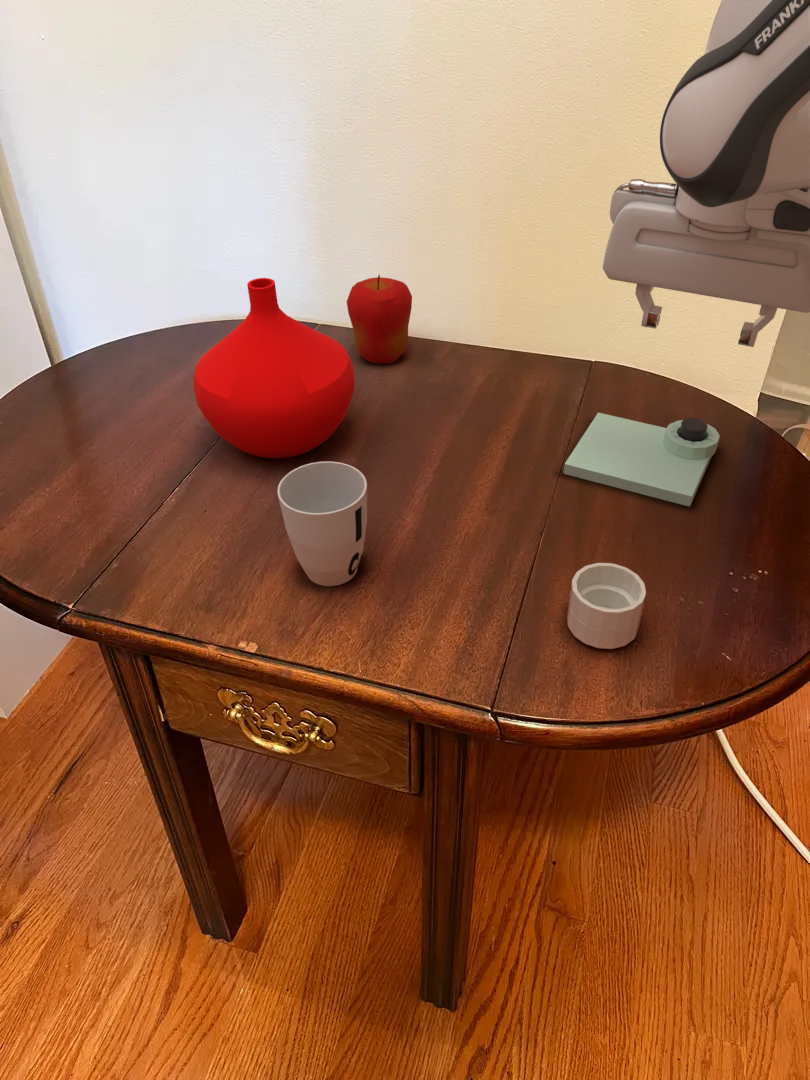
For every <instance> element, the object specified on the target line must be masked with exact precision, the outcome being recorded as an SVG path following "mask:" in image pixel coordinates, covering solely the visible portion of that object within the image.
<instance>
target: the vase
mask: <svg viewBox="0 0 810 1080" xmlns="http://www.w3.org/2000/svg"><path fill="white" fill-rule="evenodd" d="M246 286H247V293H248V298H249V312H248V314H247V316H246V317H245V318H244V320H243V321H242V322H241V323H240V324H238V325H237V326H236V327H235V328H234V329H232V331H231V332H230V333H228V334H227V335H225V337H224V338H222V339H221V340H220V341H219V342H216V343H215V345H214V346H212V347H211V348H210V349H208V350H207V351H206V352H205V353H204V354H203V355H202V356H201V357H200V359H199V360H198V362H197V364H196V366H195V368H194V369H195V370H194V375H193V392H194V396H195V397H194V398H195V401H196V405H197V407H198V408H199V411H200V412H201V413H202V416H203V417H204V418H205V419H206V421H207V422H208V423H209V425H210V427H212V428H213V430H214V431H215V433H216V434H217V435H218V436H220V437H221V438H222V439H224V441H226V442H228V443H229V444H230V445H232V446H233V447H235V448H236V449H238V450H239V451H242V452H244V453H247V454H249V455H252V456H256V457H259V458H260V457H261V458H265V459H287V458H288V459H289V458H293V457H297V456H300V455H304V454H306V453H307V452H310V451H312V450H314V449H316V448H317V447H319V446H321V444H323V443H324V442H325V441H327V440H328V439H329V438H330V437H331V436H332V435H333V434H334V432H335V431H336V430H337V429H338V427H339V426H340V425H341V423H342V422H343V421H344V419H345V418H346V415H347V413H348V410H349V407H350V404H351V401H352V399H353V396H354V392H355V387H356V385H355V384H356V382H355V381H356V380H355V368H354V365H353V362H352V359H351V357H350V355H349V353H348V351H347V349H346V348H345V347H344V346H343V345H342V344H341V343H340V342H339V341H338V340H335V339H334V338H332V337H331V336H328V335H326V334H324V333H323V332H320V331H319V330H316V329H314V328H311V327H309V326H308V325H306V324H303V323H302V322H300V321H298V320H296V319H294V318H293V317H291V316H289V315H288V314H286V312H284V311H283V310H282V309H281V308H280V306H279V302H278V297H277V296H278V294H277V288H276V281H275V280H274V279H273V278H269V277H259V278H258V277H257V278H253V279H251V280H249V281H248V282H247V283H246Z"/></svg>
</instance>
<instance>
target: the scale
mask: <svg viewBox="0 0 810 1080" xmlns="http://www.w3.org/2000/svg"><path fill="white" fill-rule="evenodd" d="M683 420H684V419H680V420H676V421H674V422H673V421H672V422H671V423H668V425H667V427H663V426H659V425H654V424H650V423H646V422H641V421H637V420H633V419H632V420H631V419H628V418H624V417H620V416H617V415H611V414H606V413H602V412H597V414H596V415H595V417H594V418H593V420H592V421H591V423H590V424H589V426H588V427H587V428H586V430H585V432H584V433H583V435H582V436H581V437H580V439H579V441H577V444H576V446H575V447H574V449H573V450H572V452H571V453H570V455H569V456H568V458H567V459H566V461H565V462H564V463H563V464H564V465H563V474H564V475H566V476H570V477H575V478H578V479H582V480H586V481H589V482H593V483H597V484H600V485H605V486H609V487H613V488H617V489H620V490H623V491H627V492H632V493H635V494H638V495H643V496H647V497H650V498H654V499H658V500H662V501H666V502H670V503H673V504H677V505H681V506H685V507H689V508H690V507H691V506H692V503H693V500H694V499H695V496H696V494H697V491H698V489H699V486H700V485H701V482H702V480H703V477H704V475H705V473H706V470H707V468H708V467H709V464H710V462H711V459H712V456H714V455H715V453H716V451H717V449H718V446H719V441H720V438H721V435H720V433H719V432H718V431H717V428H715V427H713V426H712V425H710V424H708V423H707V426H708V427H707V431H706V435H705V439H704V440H703V441H700V442H691V441H687V440H684V439H682V438H681V437H680V436H679V432H680V427H681V423H682V421H683Z"/></svg>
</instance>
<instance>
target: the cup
mask: <svg viewBox="0 0 810 1080" xmlns="http://www.w3.org/2000/svg"><path fill="white" fill-rule="evenodd" d="M276 491H277V496H278V497H277V498H278V501H279V506H280V510H281V514H282V519H283V522H284V527H285V531H286V533H287V536H288V539H289V542H290V544H291V547H292V549H293V552H294V554H295V557H296V559H297V561H298V563H299V564H300V566H301V568H302V569H303V571H304V572H305V574H306V576H307V577H308V579H309V580H310V581H311V582H313V583H314V584H316V585H319V586H323V587H335V586H340V585H344V584H346V583H348V582H349V581H350V580H352V579H353V578H355V575H356V574H357V571H358V569H359V566H360V562H361V560H362V559H361V558H362V556H363V553H364V548H365V540H366V532H367V526H368V525H367V524H368V482H367V478H366V477H365V475H364V473H363V472H362V471H361V470H359V469H358V468H357V467H354V466H352V465H349V464H347V463H344V462H339V461H316V462H311V463H307V464H303V465H301V466H298V467H297V468H294V469H292V470H290V472H288V473H287V474H286V475H284V476H283V477H282V479H281V480H280V481H279V483H278V486H277V490H276Z"/></svg>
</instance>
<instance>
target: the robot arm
mask: <svg viewBox="0 0 810 1080" xmlns="http://www.w3.org/2000/svg"><path fill="white" fill-rule="evenodd" d="M659 149H660V155H661V158H662V162H663V164H664V166H665V168H666V170H667V173H668V174H669V175H670V177H671V178H672V180H673V181H674V182H675V183H674V182H673V183H672V182H663V181H659V182H658V181H646V180H645V179H640V178H634V179H633V178H632V179H630V181H629V182H625V183H623V184H620V185H619V186H618V187H617V188H616V189H615V190H614V191H613V193H612V196H611V201H610V208H609V217H610V220H611V223H612V224H613V225H612V226H611V230H610V233H609V237H608V240H607V244H606V248H605V251H604V256H603V261H602V270H603V271H604V273H605V275H606V277H607V278H608V279H609V280H612V281H618V282H623V283H628V284H633V285H635V284H636V286H635V292H634V294H635V296H636V299H637V301H638V304H639V306H640V308H641V311H642V319H641V324H640V325H641V327H644V328H649V329H657V327H658V326H659V324H660V322H661V315H662V311H663V306H660V305H655V302H654V300H653V299H654V298H653V297H652V291H653V289H655V288H659V289H663V290H664V289H665V290H670V291H675V292H680V293H681V292H683V293H688V294H692V295H693V294H694V295H699V296H706V297H710V298H717V299H723V300H729V301H735V302H741V303H746V304H752V305H758V306H760V309H759V313H758V315H759V316H758V317H757V319H755V321H754V322H751V321H750V322H749V321H744V323H743V326H742V327H741V330H740V334H739V338H738V342H737V345H739V346H744V347H749V348H754V346H755V344H756V341H757V338H758V333H760V332H761V331H762V330H763V329H764V328H765V327H766V326H767V325H768V324H769V323H770V322H771V321H772V320H774V319H775V316H776V313H777V311H778V309H782V310H786V311H792V312H799V313H804V314H806V313H807V314H808V313H810V0H721V1H720V4H719V6H718V8H717V11H716V14H715V17H714V19H713V21H712V25H711V28H710V31H709V34H708V38H707V42H706V46H705V50H704V54H703V55H701V56H700V57H698V58H697V60H695V61H694V62H693V63H692V64H691V66H690V67H689V68H688V69H687V71H685V73H684V74H683V76H682V77H681V78H680V80H679V81H678V83H677V85H676V86H675V88H674V90H673V92H672V93H671V95H670V98H669V100H668V102H667V104H666V106H665V109H664V112H663V115H662V118H661V123H660V129H659ZM627 188H628V189H627Z"/></svg>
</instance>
